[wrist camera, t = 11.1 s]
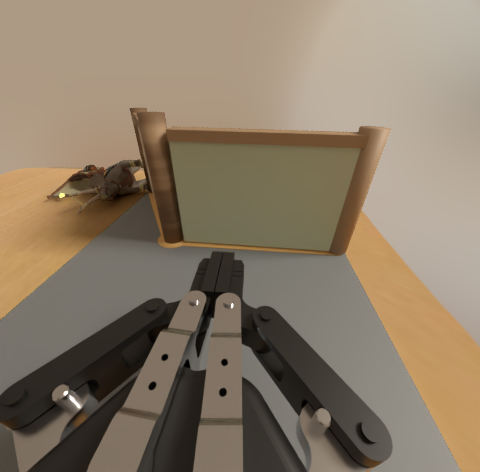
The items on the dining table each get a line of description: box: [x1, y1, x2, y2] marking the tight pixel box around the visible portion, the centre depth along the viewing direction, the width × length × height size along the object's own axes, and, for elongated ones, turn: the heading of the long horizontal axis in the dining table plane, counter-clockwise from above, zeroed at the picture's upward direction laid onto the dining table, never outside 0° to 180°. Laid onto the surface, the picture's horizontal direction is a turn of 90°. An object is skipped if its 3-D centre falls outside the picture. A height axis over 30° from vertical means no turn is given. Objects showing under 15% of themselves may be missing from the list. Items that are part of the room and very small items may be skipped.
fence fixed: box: [130, 108, 184, 244], centre depth 30 cm, size 20×2×14 cm, turn 25°
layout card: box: [0, 192, 461, 472], centre depth 25 cm, size 31×37×1 cm
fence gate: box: [166, 126, 391, 254], centre depth 23 cm, size 20×2×13 cm, turn 85°
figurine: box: [47, 159, 149, 213], centre depth 40 cm, size 20×6×17 cm
